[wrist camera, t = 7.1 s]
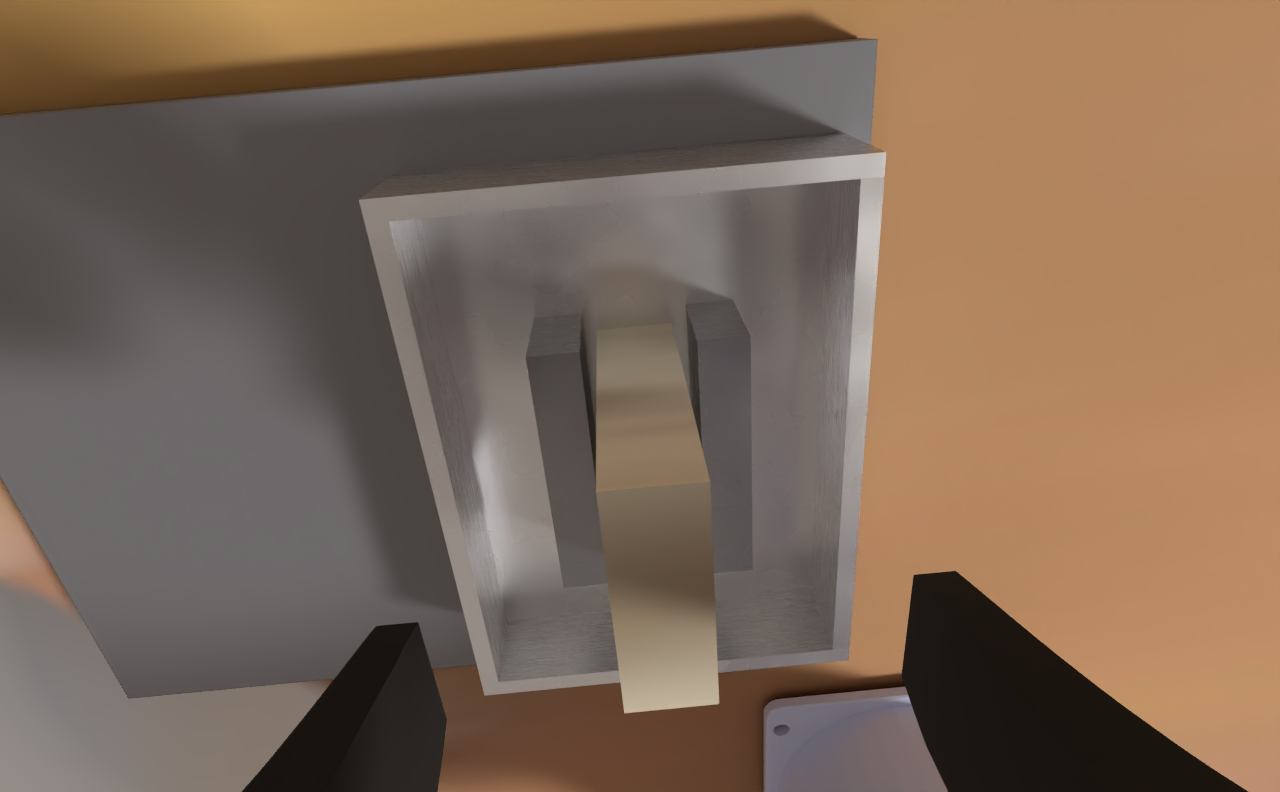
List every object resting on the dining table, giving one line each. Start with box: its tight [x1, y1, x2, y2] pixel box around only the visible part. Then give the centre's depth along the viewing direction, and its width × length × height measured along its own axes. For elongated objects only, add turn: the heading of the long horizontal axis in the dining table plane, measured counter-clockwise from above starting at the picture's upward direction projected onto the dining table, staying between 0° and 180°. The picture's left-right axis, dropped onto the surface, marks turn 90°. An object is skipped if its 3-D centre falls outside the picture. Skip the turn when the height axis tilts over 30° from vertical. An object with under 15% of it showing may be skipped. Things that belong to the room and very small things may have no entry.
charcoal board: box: [0, 38, 878, 698], centre depth 17 cm, size 15×20×1 cm
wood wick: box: [596, 323, 719, 713], centre depth 14 cm, size 4×2×6 cm, turn 5°
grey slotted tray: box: [359, 132, 886, 695], centre depth 16 cm, size 12×9×2 cm
